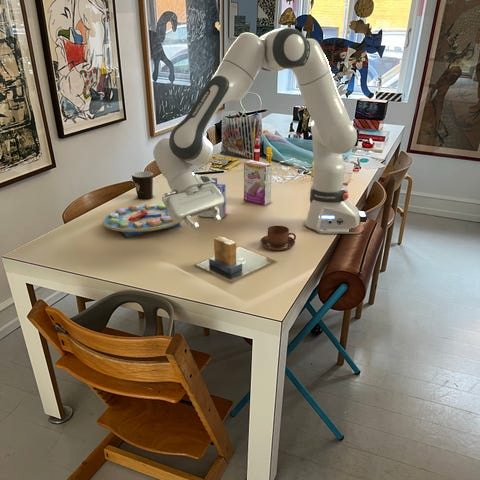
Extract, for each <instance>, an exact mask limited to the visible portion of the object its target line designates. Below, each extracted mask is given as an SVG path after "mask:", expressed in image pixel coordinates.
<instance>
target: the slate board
mask: <svg viewBox="0 0 480 480" xmlns="http://www.w3.org/2000/svg"><path fill="white" fill-rule="evenodd" d="M236 261H238V262H240V263H242V269H241V270H239V271H237V272H235V273H233V274H229V273H227V272H225V271H223V270H221V269H218V268H216V267H214V266H212V265H210V264H209V258H208V259H206V260H204V261H201V262H199V263H196V264H195V266H197V267H200V268H202V269H204V270H206V271H208V272H210V273H212V274H214V275H216V276H218V277H220V278H222V279H224V280H227V281H229V282H232V281H235V280H237V279H239V278H241V277H243V276H245V275H248V274H249V273H252V272H254V271H256V270H259V269H260V268H262V267H264V266H267V265H269V264H271V263H273V262H275V260H273V259H271V258H269V257H266V256H264V255H261V254H260V253H256V252H254V251H251V250H249V249H247V248H244V247H242V246H238V247H236Z"/></svg>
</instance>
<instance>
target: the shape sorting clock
mask: <svg viewBox="0 0 480 480" xmlns="http://www.w3.org/2000/svg"><path fill="white" fill-rule="evenodd" d="M182 221H183V220H181V221H178V222H174V221H173V220H172V219H171V217H170V215H169V213H168V211H167V208H166V206H165V204H164V203H159V204H150V203H144V205H138V206H137V205H129V206H127V207H125V208H116V209H115V211H113V212H110V213H108V214H106V215H105V217H103V219H102V223H103V226H104V227H105V228H107V229H109V230H111V231H115V232H120V233H122V234H123V235H124V236H125V237H126V238H129V237H133V236H140V235H145V234H149V233H154V232H158V231H162V230H167V229H173V228H177V227H180V224H181V222H182Z"/></svg>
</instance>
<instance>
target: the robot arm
mask: <svg viewBox="0 0 480 480" xmlns="http://www.w3.org/2000/svg"><path fill="white" fill-rule="evenodd" d="M261 70H264V71H267V72H271V71H272V72H280V71H284V70H291V71H292V73H293V75H294V76H295V80H296V83H297V86H298V89H299V92H300V95H301V97H302V100H303V103H304V106H305V108H306V110H307V112H308V114H309V115H310V118H311V119H312V121H311V123H310V132H311V139H312V140H311V141H312V143H311V144H312V156H313V170H312V171H313V172H312V185H311V186H310V190H309V191H310V192H309V208H308V211H307V216H306V219H305V221H304V225H305V226H306V227H307V228H309V229H311V230H314V231H316V232H317V233H319V234H327V235H328V234H331V235H332V234H333V235H334V234H337V235H338V234H340V235H341V234H343V235H360V234H359V233H358V232H349V229H351V228H355V227H357V226H358V225H359V223H360V222H366V220H367V221H368V217H367V215H366V213H365V211H361V210H359V208H358V207H357V206H356V205H355V204H354V203H352V202H351V201H350V200H349V195H350V194H349V193H348V189H347V188H344V180H345V170H346V164H345V161H344V154H347V153H349V152H351V150H353V149H354V147H355V145H356V143H357V140H358V132H357V130H356V129H355V127H354V125H353V123H352V119H350V116H349V114H348V111H347V109H346V107H345V105H344V102H343V101H342V99H341V97H340V94H339V92H338V89H337V86H336V83H335V80H334V77H333V74H332V71H331V67H330V65H329V61H328V59H327V57H326V54H325V52H324V50H323V48H322V47H321V45H320V43H319V42H318V41H317V40H316V39H315V38H306V37H305V35H304V34H303V33H302V32H301V31H300V30H299V29H297V28H294V27H285V28H276V29H273V30H271V31H269V32H265V33H263V34H261V35H260V36H258V35H256V34H255V33H252V32H243V33H240V34H239V35H238V37H237V38H236V39H235V40H234V41H233V43H232V44H231V45H230V47H229V48H228V50H227V52H226V53H225V55H224V56H223V58H222V61H221V63H219V66H218V68H217V70H216V71H215V73H214V74H213V76H212V77H211V79H210V80H209V81H208V83H206V85H205V86H204V88H203V89H202V91H201V93H200V94H199V96H198V97H197V99H196V100H195V102H194V103H193V106H191V109H190V110H189V112H188V113H187V114H186V116H185V117H184V118H183V119H182V120H181V121H180V122H179V123H178V124H177V125H176V126H175V127H173V129H172V130H171V132H170V134H169V137H164V138H162V139H160V140H159V141H158V142H157V143H156V144H155V146H154V148H153V150H152V151H153V153H152V155H153V158H154V160H155V163H156V166H157V167H158V169H159V171H160V173H161V174H162V175H161V176H163V177H164V178H165V179H166V182H167V184H168V187H169V189H170V191H169V192H165V193H164V194H162V197H161V201H162V204H165V206H166V208H167V211H168V213H169V215H170V217H171V219H172V220H173V221H174V222H178V221H181V220H182V221H183V222H184V223H185V224H186V225H188V226H189V227H190V228H191V229H192V230H193V231H197V230H199V228H200V225H199V223H198V222H197V221H196V222H195V221H194V220H192V218H193V217H196V216H200V214H202V213H205V212H208V211H212V212H213V213H215V217H212V218H213V220H214V222H215V223H219V222H221V221H222V218H221V217H220V215H219V208H220V207H221V206H222V205H223V204H224V198H223V196H222V194H221V192H220V191H219V189H218V188H217V187H216V185H214V184H212V183H211V182H213V180H212V179H211V178H212V177H211V176H210V175H202V174H197V173H195V172H194V171H196V170H198V169H201V168H202V167H205V166H207V165H208V164H209V163H210V162H211V161H212V158H213V157H214V147H213V144H212V142H211V141H210V139H208V138H207V137H206V136H205V132H206V129H207V127H208V126H209V124H210V122H211V121H212V119H213V117H214V116H215V115H216V113H217V111H218V109H220V107H221V106H222V105H224V104H225V103H226V104H227V103H236V102H237V103H238V102H240V101H242V99H243V98H244V97H245V96H246V95H247V93H248V92H249V91H250V89H251V87H252V85H253V83H254V82H255V79H256V78H257V76H258V74H259V72H260V71H261ZM182 221H181V222H182ZM366 223H367V222H366Z"/></svg>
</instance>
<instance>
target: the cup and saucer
mask: <svg viewBox="0 0 480 480" xmlns="http://www.w3.org/2000/svg"><path fill="white" fill-rule="evenodd" d="M266 232H267V233H266V235H264V236H263V237H261V238H260V244H261V245H262V247H264V248H266V249H267V250H271V251H285V250H289V249H291V248H292V247H294V246H295V244H296V239H297V235H296V234H295V233H294V232H290V229H289V227H287V226H285V225H271V226H269V227H267V230H266ZM291 235H292V236H293V237H292V236H291ZM268 245H269V246H268ZM286 245H287V246H286Z"/></svg>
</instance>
